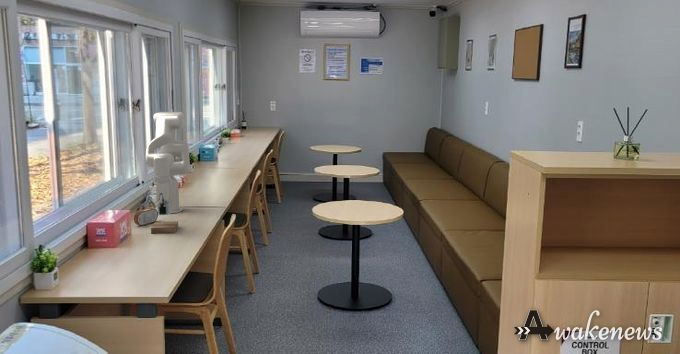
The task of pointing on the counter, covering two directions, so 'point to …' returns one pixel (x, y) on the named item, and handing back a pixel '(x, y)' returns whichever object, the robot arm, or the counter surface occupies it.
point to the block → (166, 209)
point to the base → (164, 227)
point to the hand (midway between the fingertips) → (163, 212)
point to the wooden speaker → (146, 216)
